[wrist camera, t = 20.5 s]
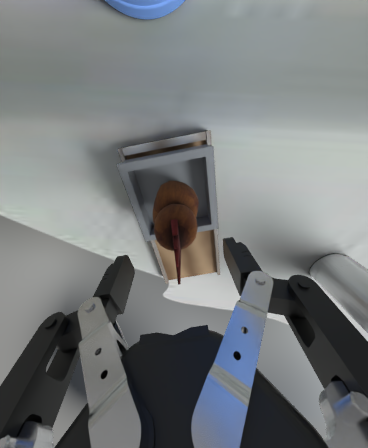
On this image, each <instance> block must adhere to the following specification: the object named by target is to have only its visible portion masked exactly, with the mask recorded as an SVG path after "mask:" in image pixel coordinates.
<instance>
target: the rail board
mask: <svg viewBox="0 0 368 448" xmlns="http://www.w3.org/2000/svg"><path fill="white" fill-rule="evenodd" d="M205 144H208V145H211V130H210V131H204V132H199V133H194V134H189V135H184V136H179V137H174V138H169V139H164V140H159V141H153V142H148V143H143V144H138V145H133V146H128V147H123V148H119V149H117V150H118V152H119V155H120V158H121V161H122V162H123V161H125V160H128V159H133V158H138V157H143V156H149V155H154V154H159V153H164V152H169V151H174V150H179V149H184V148H189V147H194V146H200V145H205ZM211 146H212V145H211ZM151 244H152V247H153V249H154V252H155V255H156V258H157V260H158V263H159V266H160V269H161V272H162V274H163V277H164V280H165V282H166V284H168V280H172V279H177V271H176V263H175V255H174V251H171V250H167V249H165V248H164V247H162V246H160V244H159V243H158V242H157V240H151ZM213 272H217V274H218V275H220V265H219V250H218V235H217V229H213V230H208V231H202V232H197V234H196V238H195V240H194V241H193V242H192V244H191V245H189V246H188V247H187V248H185V249H182V250H181V278H184V277H190V276H196V275H202V274H208V273H213Z"/></svg>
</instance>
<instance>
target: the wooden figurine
mask: <svg viewBox="0 0 368 448" xmlns="http://www.w3.org/2000/svg"><path fill="white" fill-rule="evenodd" d="M198 204H199V201H198V197H197V195H196V193H195V192H194V190H193V189H192V188H191V187H190V186H188V185H187V184H185V183H183V182H179V181H168V182H166V183H164V184H162V185H161V186H160V188H159V190H158V192H157V195H156V198H155V201H154V206H153V213H152V214H153V222H154V233H155V237H156V240H157V242H158V243H159V244H160V246H162V247H164V248H165V249H167V250H171V251H174V255H175V263H176V271H177V279H178V284H180V278H181V250H182V249H185V248H187V247H188V246H189V245H191V244H192V242H193V241H194V240H195V238H196V234H197V229H198V228H197V220H196V216H197V212H198Z"/></svg>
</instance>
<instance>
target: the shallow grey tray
mask: <svg viewBox="0 0 368 448" xmlns="http://www.w3.org/2000/svg"><path fill="white" fill-rule="evenodd" d="M117 168H118V171H119V173H120V176H121V178H122V181H123V184H124V186H125V189H126V191H127V194H128V197H129V199H130V202H131V205H132V207H133V210H134V212H135V215H136V218H137V220H138V223H139V225H140V228H141V231H142V233H143V236H144V239H145V241H151V240H156V237H155V233H154V222H153V214H152V213H153V206H154V201H155V198H156V195H157V192H158V190H159V188H160V186H161V185H162V184H164V183H166V182H168V181H179V182H183V183H185V184H187V185H188V186H190V187H191V188H192V189H193V190H194V192H195V193H196V195H197V197H198V201H199V204H198V212H197V216H196V220H197V228H198V229H197V232H202V231H208V230H213V229H218V215H217V198H216V182H215V166H214V150H213V146H211V145H208V144H205V145H200V146H194V147H189V148H184V149H179V150H174V151H169V152H164V153H159V154H154V155H149V156H143V157H138V158H133V159H128V160H125V161H123V162H121V163H119V164H117Z"/></svg>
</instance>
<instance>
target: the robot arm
mask: <svg viewBox="0 0 368 448" xmlns="http://www.w3.org/2000/svg"><path fill="white" fill-rule="evenodd" d="M223 250H224V258H225V261H226V263H227V266H228V268H229V271H230V273H231V275H232V278H233V280H234V283H235V285H236V288H237V290H238V293H239V295H240V296H241V298H240V300H239V301H237V303H236V305H235V308H234V310H233V313H232V316H231V318H230V321H229V324H228V327H227V329H226V332H225V335H224V336H223V335H221V334H219V333H217V332H214V331H210V330H208V325H205V326H198V327H191V328H189V329H187V330H184V331H182V332H180V333H178V334H176V335H168V334H162V333H151V334H145V335H141V336H140V341H139V342H137V343H136V344H134V345H133V346H131V347H130V348H129V346H128V345H127V343H126V341H125V339H124V336H123V334H122V331H121V329H120V327H119V325H118V322H117V320H116V317H117V315H118V314H123V313H124V309H125V306H126V303H127V299H128V295H129V292H130V288H131V285H132V281H133V278H134V274H135V272H134V267H133V265H132V263H131V261H130V259H129V257H128V255H124V256H118V257H117V258H116V260H115V262H114V264H111V265H110V266H109V267H108V269H107V270H106V272H105V274H104V276H103V278H102V280H101V282H100V284H99V286H98V288H97V290H96V292H95V294H94V296H93V298H90V299H88V300H87V301H86V302H84V303H83V304H82V306H81V307H80V308H79V310H78V311H76V312H73V313H71V314H69V315H67V316H66V315H64V314H63V313H62V312H58V313H55V314H53V315H51V316H49V317H48V318H47V319H46V320H45V321H44V322H43V323H42V324H41V325H40V327H39V328H38V330H37V331H36V333H35V334H34V336H33V338H32V339H31V341H30V342H29V344H28V345H27V347H26V348H25V350H24V351H23V353H22V354H21V356H20V357H19V359H18V360H17V362H16V363H15V365H14V366H13V368H12V369H11V371H10V372H9V374H8V376H7V377H6V378H5V380H4V381H3V383H2V384H1V386H0V448H54V445H53V443H52V441H53V430H52V427H53V425H54V422H55V420H56V417H57V414H58V412H59V409H60V406H61V404H62V401H63V399H64V396H65V393H66V391H67V388H68V386H69V383H70V380H71V378H72V375H73V373H74V370H75V367H76V365H77V362H78V360H79V357H81V362H82V369H83V375H84V381H85V387H86V393H87V398H88V403H87V404H86V405H85V407H84V408H83V409H82V411H81V412H80V414H79V415H78V416H77V418H76V419H75V420H74V422H73V423H72V424H71V426H70V427H69V429H68V430H67V431H66V433H65V434H64V435H63V437H62V438H61V439H60V441H59V442H58V444H57V445H56V446H55V448H368V342H367V340H366V339H365V338H364V337H363V336H362V335H361V334H360V332H359V331H358V330H357V329H356V328H355V327H354V326H353V324H352V323H351V322H350V321H349V320H348V319H347V318H346V316H345V315H344V314H343V313H342V312H341V311H340V310H339V309H338V307H337V306H336V305H335V304H334V303H333V302H332V301H331V299H330V298H329V297H328V296H327V295H326V294H325V293H324V291H323V290H322V289H321V288H320V287H319V286H318V285H317V283H316V282H314V281H313V280H312V279H310V278H308V277H306V276H302V275H293V276H291V277H290V278H289V280H282V279H275V278H272V277H271V276H269V275H268V274H267V273H265V272H263V271H262V270H261V268H260V267H259V265H258V264H257V262H256V261H255V259H254V258H253V256H252V255H251V253H250V252H249V250H248V248H247V247H246V246H245V245H244V244H242V243H241V242H239V243H236V242H235V240H234V238H233V237H230V238H224V239H223ZM310 275H311V276H312V277H313V278H314V279H315V280H316V281H317V282H318V283H319V284H320V285H321V286H322V287H323V288H324V289H325V290H326V291H327V292H328V293H329V294H330V295H331V296H332V297H333V298H334V299H335V300H336V301H337V302H338V303H339V304H340V305H341V307H342V308H343V309H344V310H345V311H346V312H347V313H348V314H349V315H350V316H351V317H352V318H353V319H354V320H355V321H356V322H357V323H358V324H359V325H360V326H361V327H362V328H363V329H364V330H365V331H366V332H367V333H368V269H366V268H365V267H363V266H362V265H361V264H359V263H358V262H356V261H355V260H353V259H352V258H350V257H349V256H343V255H341V254H331V255H328V256H325V257H323V258H321V259H319V260H318V261H317V262H315V263H314V264H313V266H312V267H311V269H310ZM267 312H269V313H274V314H280V315H284V316H285V318H286V320H287V321H288V323H289V325H290V327H291V329H292V331H293V332H294V334H295V336H296V338H297V340H298V341H299V343H300V345H301V347H302V349H303V351H304V352H305V354H306V356H307V358H308V360H309V361H310V363H311V365H312V367H313V369H314V371H315V373H316V374H317V376H318V378H319V380H320V382H321V383H322V385H323V387H324V390H323V391H322V392H321V393H320V395H319V405H320V409H321V411H322V414H323V416H324V419H325V423H326V436H325V438H324V440H323V438H322V437H321V435H320V434H319V433H318V432H317V430H316V429H315V428H314V427H313V426H312V425H311V423H310V422H309V421H308V420H307V419H306V418H305V417H304V416H303V415H302V414H301V413H300V412H299V411H298V410H297V409H296V408H295V407H294V406H293V405H292V404H291V403H290V402H289V401H288V400H287V399H286V398H285V397H284V396H283V395H282V394H281V393H280V392H279V390H278V389H276V387H275V386H274V385H273V384H272V383H271V382H270V381H269V380H268V379H267V378H266V377H265V376H264V375H263V374H262V373H261V372H260V371H259V370H258V369H257V368H256V366H257V361H258V356H259V351H260V346H261V341H262V336H263V332H264V327H265V322H266V317H267ZM55 348H57V349H58V351H57V353H56V355H55V357H54V359H53V361H52V363H51V365H50V367H49V369H48V371H47V373H46V366H47V364H48V362H49V360H50V358H51V356H52V354H53V352H54V350H55Z"/></svg>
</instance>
